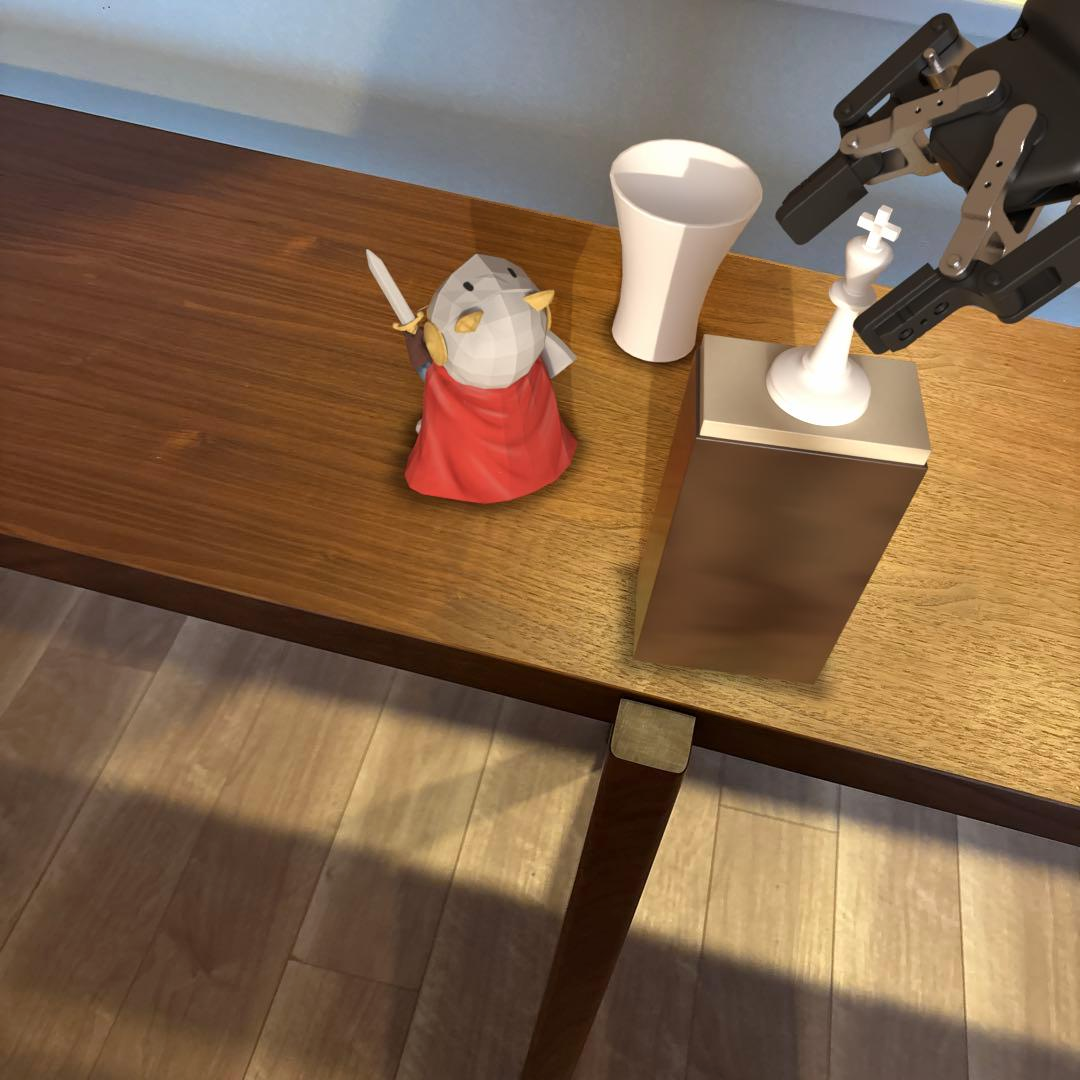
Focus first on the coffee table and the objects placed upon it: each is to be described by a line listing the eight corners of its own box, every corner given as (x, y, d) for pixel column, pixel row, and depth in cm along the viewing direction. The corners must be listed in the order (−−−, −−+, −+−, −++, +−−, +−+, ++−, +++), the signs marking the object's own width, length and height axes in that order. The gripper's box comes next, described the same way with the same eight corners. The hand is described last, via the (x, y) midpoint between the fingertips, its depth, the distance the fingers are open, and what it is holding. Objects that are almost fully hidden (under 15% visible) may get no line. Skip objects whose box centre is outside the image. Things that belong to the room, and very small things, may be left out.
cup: (725, 387, 82) (770, 234, 72) (585, 375, 82) (610, 218, 71) (716, 298, 89) (756, 145, 78) (586, 286, 88) (609, 131, 78)
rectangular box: (808, 598, 70) (919, 360, 55) (814, 685, 66) (936, 454, 51) (637, 575, 70) (700, 330, 55) (632, 661, 66) (699, 422, 51)
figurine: (549, 375, 81) (571, 197, 70) (595, 489, 74) (629, 313, 63) (371, 397, 78) (364, 215, 67) (403, 518, 71) (401, 339, 60)
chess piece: (794, 341, 55) (857, 160, 47) (884, 386, 53) (964, 207, 46) (747, 393, 52) (805, 210, 44) (840, 442, 50) (917, 261, 43)
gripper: (1053, -159, 43) (714, 142, 49) (1316, 18, 34) (866, 355, 40) (1100, -25, 48) (790, 231, 54) (1337, 157, 40) (938, 435, 46)
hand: (823, 283), depth 47 cm, fingers open, 7 cm apart
